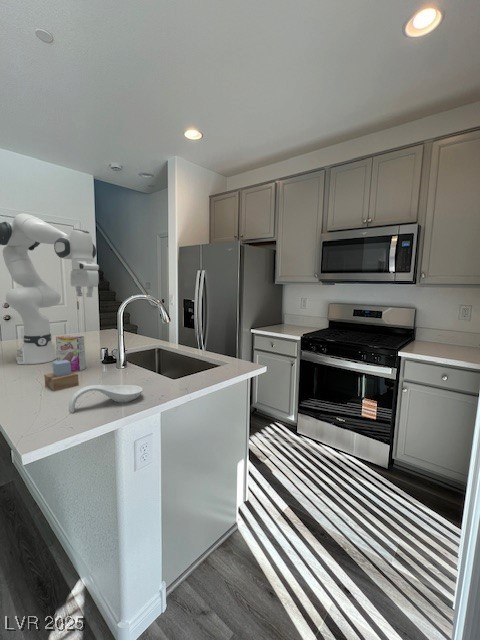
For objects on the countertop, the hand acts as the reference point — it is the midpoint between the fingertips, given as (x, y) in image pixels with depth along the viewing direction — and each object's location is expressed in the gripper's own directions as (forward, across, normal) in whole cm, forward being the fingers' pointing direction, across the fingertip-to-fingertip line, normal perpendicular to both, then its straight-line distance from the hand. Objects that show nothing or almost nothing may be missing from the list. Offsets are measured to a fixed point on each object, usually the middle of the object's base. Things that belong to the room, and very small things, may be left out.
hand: (84, 296), depth 135 cm
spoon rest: (+36, +43, -13) cm, 58 cm away
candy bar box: (+35, -8, -4) cm, 36 cm away
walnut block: (+35, +12, -16) cm, 41 cm away
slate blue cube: (+30, +12, -16) cm, 36 cm away
